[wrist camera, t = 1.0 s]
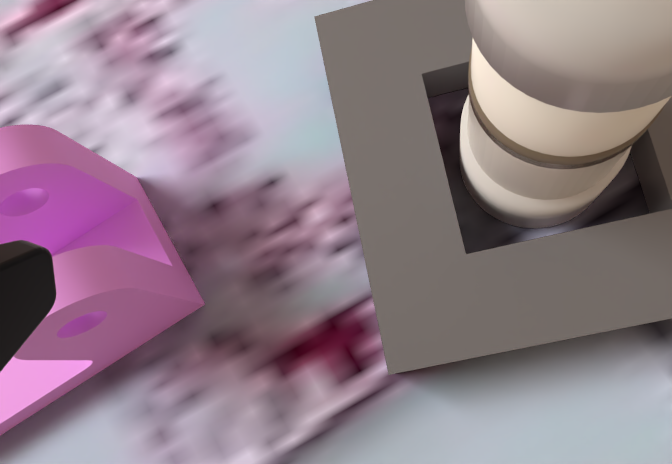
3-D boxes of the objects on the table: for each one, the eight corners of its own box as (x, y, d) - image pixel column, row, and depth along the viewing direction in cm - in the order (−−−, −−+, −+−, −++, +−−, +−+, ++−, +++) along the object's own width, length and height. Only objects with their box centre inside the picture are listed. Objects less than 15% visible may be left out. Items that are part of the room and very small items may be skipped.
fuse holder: (786, 295, 19) (823, 288, 17) (394, 373, 21) (389, 374, 19) (663, -47, 22) (683, -87, 20) (325, 44, 23) (314, 16, 22)
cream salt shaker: (627, 209, 20) (905, -33, 8) (478, 242, 21) (515, 67, 9) (585, 74, 22) (770, -327, 9) (445, 110, 22) (434, -218, 10)
